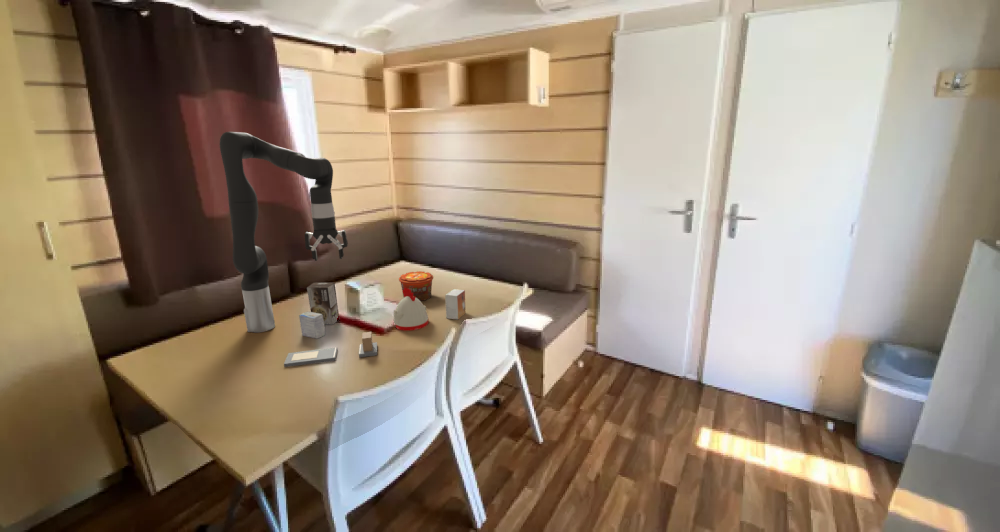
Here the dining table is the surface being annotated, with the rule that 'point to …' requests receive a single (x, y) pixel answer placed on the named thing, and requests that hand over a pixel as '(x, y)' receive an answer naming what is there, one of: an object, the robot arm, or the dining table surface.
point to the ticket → (310, 357)
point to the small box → (455, 304)
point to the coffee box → (324, 301)
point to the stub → (367, 346)
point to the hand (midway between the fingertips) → (328, 259)
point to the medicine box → (312, 324)
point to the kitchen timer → (410, 313)
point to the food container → (417, 284)
